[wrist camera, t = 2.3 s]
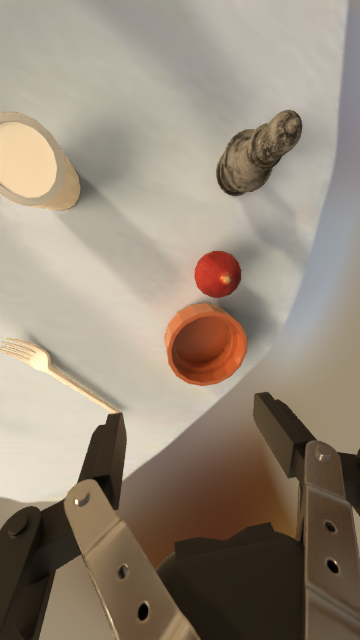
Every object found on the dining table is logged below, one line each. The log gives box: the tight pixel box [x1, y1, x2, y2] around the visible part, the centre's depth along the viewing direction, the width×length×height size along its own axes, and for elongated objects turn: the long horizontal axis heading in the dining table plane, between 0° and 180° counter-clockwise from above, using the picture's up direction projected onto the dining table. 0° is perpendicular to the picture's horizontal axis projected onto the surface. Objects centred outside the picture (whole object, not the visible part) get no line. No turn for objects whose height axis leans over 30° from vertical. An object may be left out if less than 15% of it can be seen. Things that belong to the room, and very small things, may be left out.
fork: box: [0, 338, 120, 413], centre depth 32 cm, size 3×20×2 cm, turn 44°
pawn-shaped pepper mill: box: [216, 110, 302, 196], centre depth 21 cm, size 6×6×12 cm
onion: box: [195, 251, 241, 298], centre depth 27 cm, size 6×6×8 cm
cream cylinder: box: [0, 112, 81, 210], centre depth 22 cm, size 7×7×7 cm
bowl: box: [165, 303, 247, 386], centre depth 32 cm, size 11×11×5 cm
